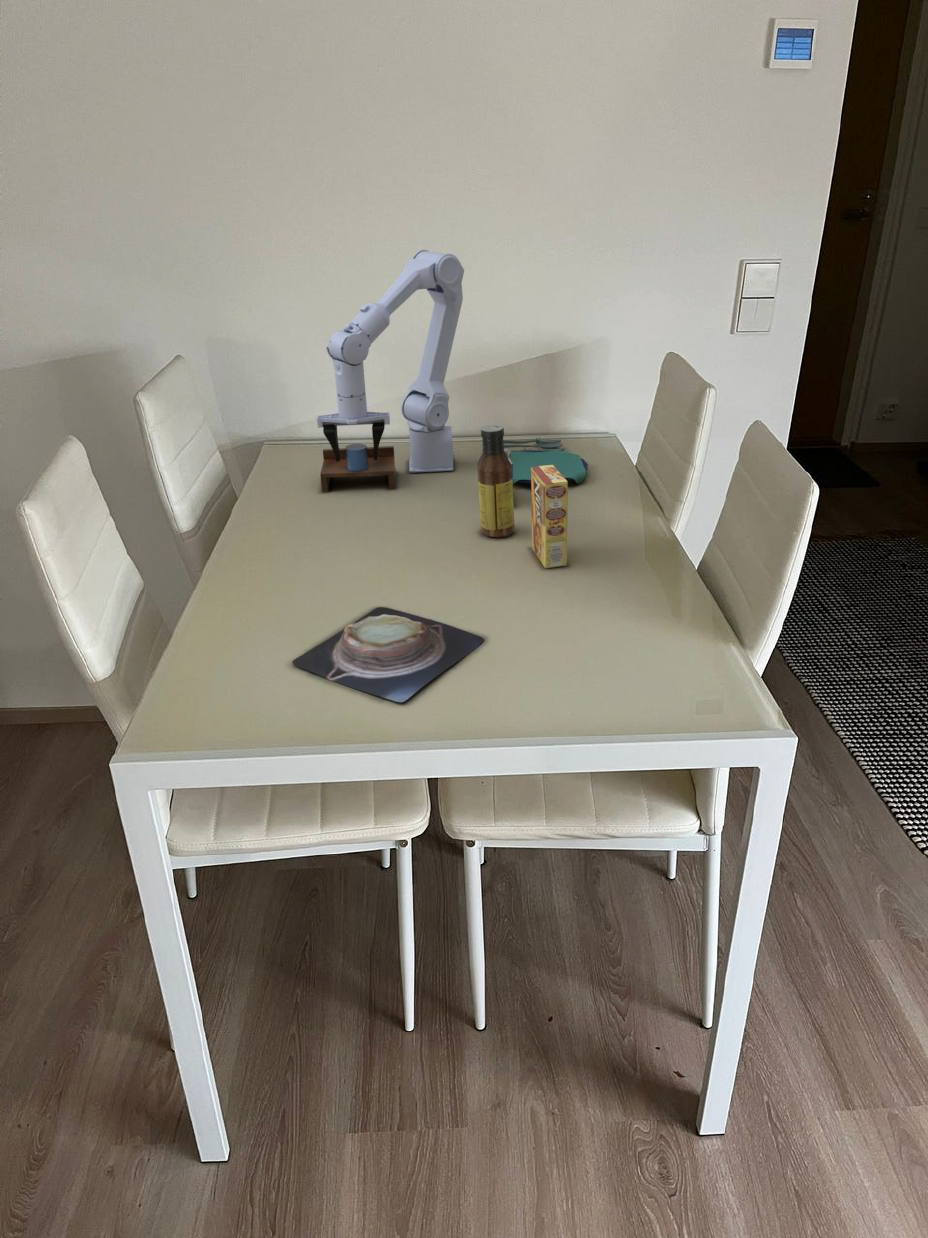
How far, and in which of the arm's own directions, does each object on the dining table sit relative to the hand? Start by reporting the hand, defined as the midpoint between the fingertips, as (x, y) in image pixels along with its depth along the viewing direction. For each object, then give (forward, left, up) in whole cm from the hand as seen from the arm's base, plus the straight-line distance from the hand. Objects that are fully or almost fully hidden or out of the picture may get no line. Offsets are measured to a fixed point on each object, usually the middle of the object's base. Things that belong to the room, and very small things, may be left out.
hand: (356, 459), depth 198 cm
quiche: (-7, +70, -6) cm, 70 cm away
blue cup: (0, 0, -2) cm, 2 cm away
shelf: (0, -2, -6) cm, 6 cm away
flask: (-29, +12, -6) cm, 32 cm away
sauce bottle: (-26, +28, -6) cm, 39 cm away
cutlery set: (-38, -7, -6) cm, 40 cm away
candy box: (-34, +40, -6) cm, 53 cm away
